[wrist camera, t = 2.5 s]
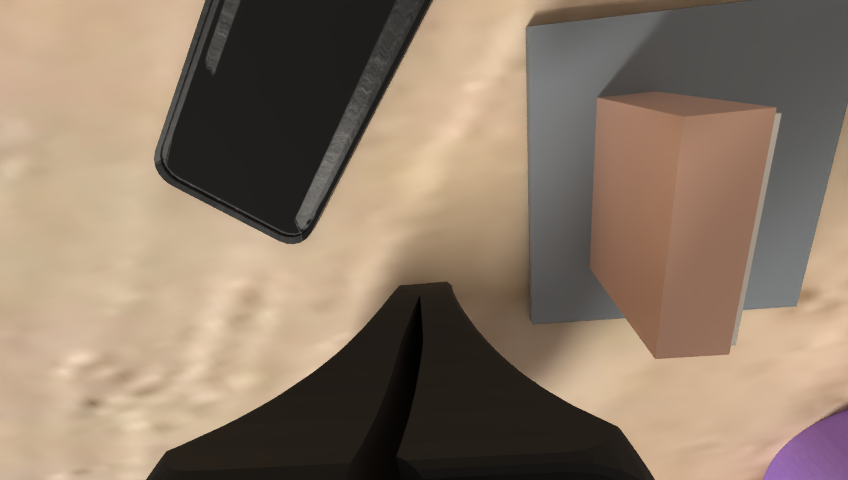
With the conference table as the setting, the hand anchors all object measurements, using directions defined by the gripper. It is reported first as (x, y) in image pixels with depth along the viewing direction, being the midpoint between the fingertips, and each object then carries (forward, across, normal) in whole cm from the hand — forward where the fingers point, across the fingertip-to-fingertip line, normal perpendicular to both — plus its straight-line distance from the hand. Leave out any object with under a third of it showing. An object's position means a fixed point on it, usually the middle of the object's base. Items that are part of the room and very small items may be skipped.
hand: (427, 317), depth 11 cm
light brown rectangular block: (+10, -8, 0) cm, 13 cm away
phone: (+11, +6, -6) cm, 14 cm away
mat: (+10, -11, 0) cm, 15 cm away
